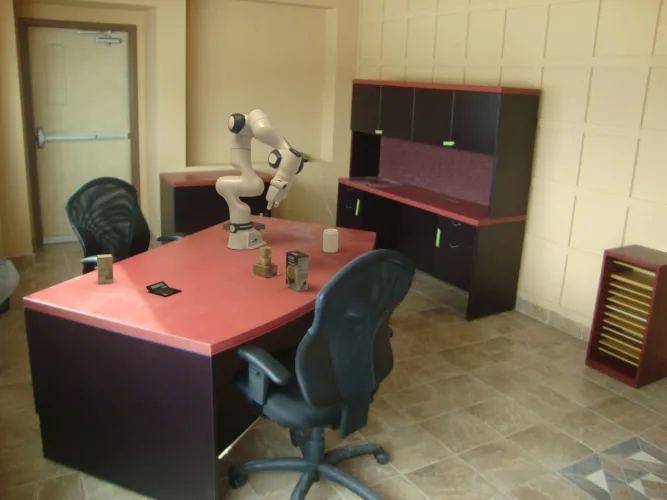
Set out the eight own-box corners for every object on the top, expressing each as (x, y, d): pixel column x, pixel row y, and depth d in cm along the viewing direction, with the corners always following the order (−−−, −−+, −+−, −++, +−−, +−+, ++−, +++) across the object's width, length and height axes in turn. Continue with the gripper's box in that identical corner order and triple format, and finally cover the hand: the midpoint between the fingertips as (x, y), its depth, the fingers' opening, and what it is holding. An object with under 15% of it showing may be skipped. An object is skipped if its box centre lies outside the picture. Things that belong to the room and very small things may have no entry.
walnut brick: (265, 271, 303) (265, 261, 302) (277, 274, 298) (277, 264, 297) (253, 274, 297) (253, 264, 296) (265, 278, 292) (265, 268, 291)
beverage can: (320, 252, 342) (321, 230, 339) (326, 248, 349) (326, 227, 346) (334, 254, 339) (335, 232, 336) (339, 250, 346) (340, 229, 343)
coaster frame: (244, 224, 401) (244, 219, 401) (265, 228, 390) (265, 224, 390) (222, 228, 388) (222, 223, 387) (242, 233, 377) (242, 228, 376)
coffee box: (285, 286, 285) (285, 251, 280) (296, 283, 289) (297, 249, 284) (296, 291, 278) (297, 256, 274) (308, 289, 282) (309, 254, 277)
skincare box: (99, 284, 280) (97, 257, 276) (97, 281, 283) (95, 255, 280) (114, 282, 283) (112, 256, 279) (112, 279, 286) (111, 253, 283)
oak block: (266, 262, 299) (266, 246, 297) (271, 264, 296) (271, 248, 294) (259, 264, 297) (259, 247, 295) (264, 266, 294) (264, 249, 292)
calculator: (165, 297, 266) (165, 291, 265) (146, 292, 272) (145, 286, 271) (181, 292, 274) (181, 285, 273) (162, 287, 280) (162, 280, 279)
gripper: (284, 178, 312) (273, 203, 316) (269, 180, 293) (258, 207, 296) (295, 183, 311) (284, 209, 315) (281, 186, 292) (270, 213, 295)
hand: (272, 208), depth 305 cm, fingers open, 8 cm apart
